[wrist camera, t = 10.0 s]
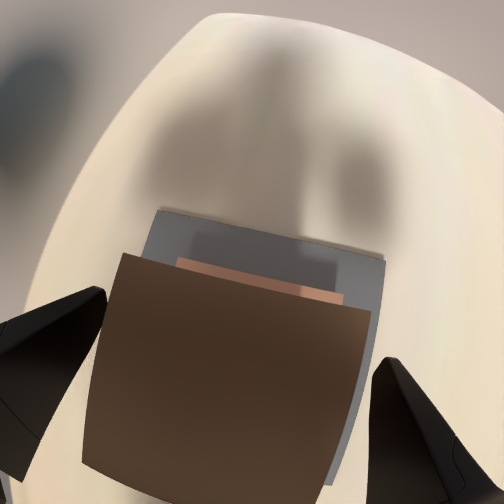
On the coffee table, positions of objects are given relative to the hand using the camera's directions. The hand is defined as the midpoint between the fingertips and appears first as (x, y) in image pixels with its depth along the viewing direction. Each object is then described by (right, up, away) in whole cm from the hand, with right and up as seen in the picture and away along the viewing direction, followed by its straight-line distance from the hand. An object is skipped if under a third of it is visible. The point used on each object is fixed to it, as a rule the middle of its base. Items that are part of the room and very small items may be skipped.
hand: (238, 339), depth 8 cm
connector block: (0, -4, +8) cm, 9 cm away
